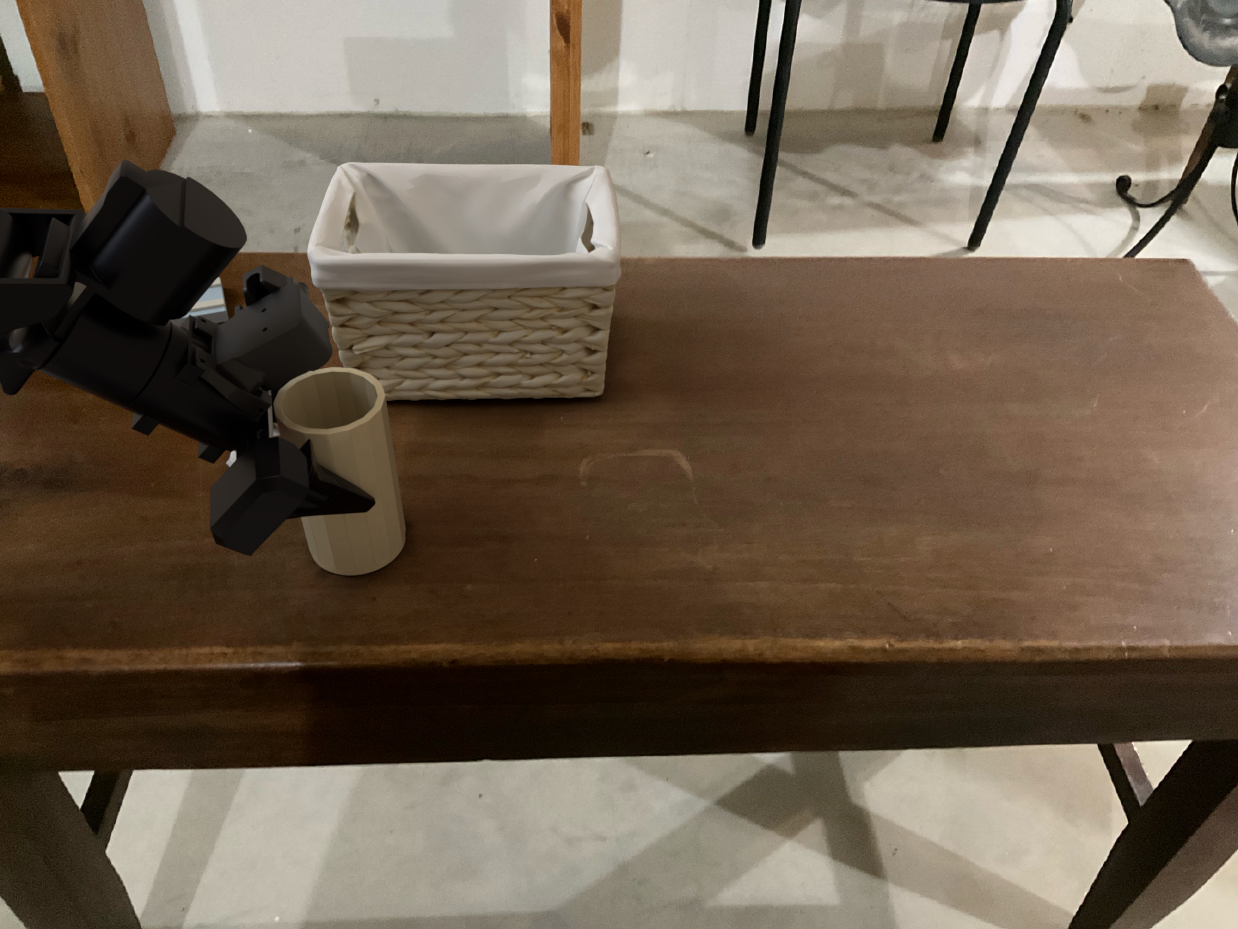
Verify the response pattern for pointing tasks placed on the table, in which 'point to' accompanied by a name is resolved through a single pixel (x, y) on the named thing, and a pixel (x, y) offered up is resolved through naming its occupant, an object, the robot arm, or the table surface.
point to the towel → (209, 305)
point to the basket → (470, 277)
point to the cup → (347, 464)
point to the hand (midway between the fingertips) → (366, 469)
